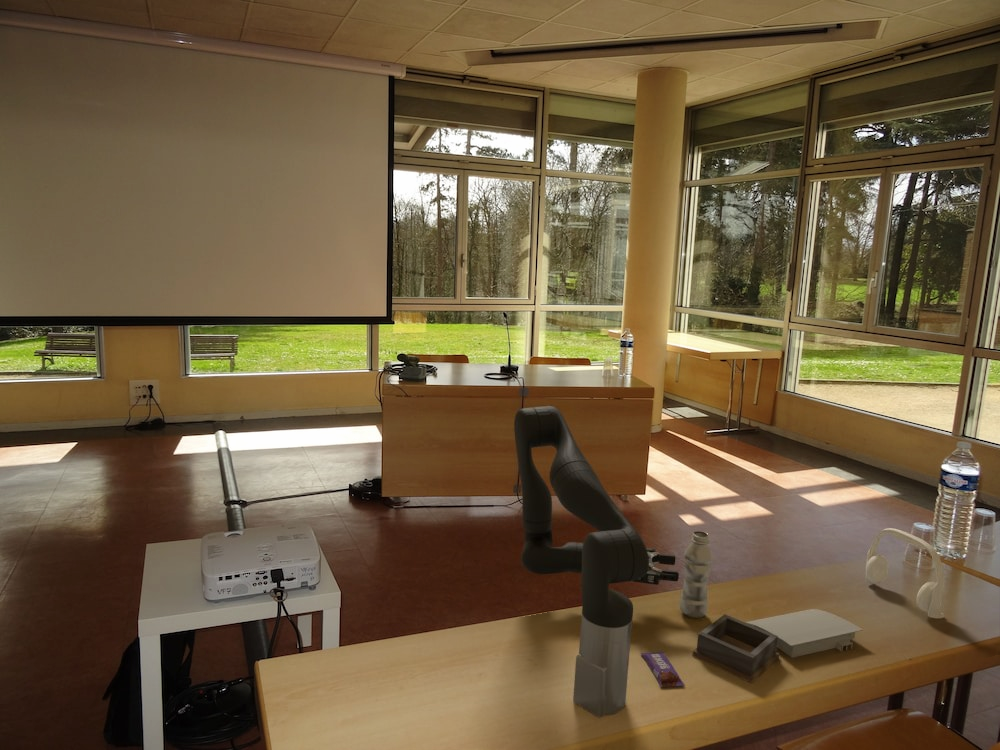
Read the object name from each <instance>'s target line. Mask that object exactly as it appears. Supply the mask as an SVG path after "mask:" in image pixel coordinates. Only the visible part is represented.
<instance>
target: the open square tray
mask: <svg viewBox="0 0 1000 750" xmlns="http://www.w3.org/2000/svg"><path fill="white" fill-rule="evenodd" d="M745 622H746V621H743V620H740V619H738V618H735V617H733V616H731V615H728V614H726V613H725V614H723V615H721V616H720V617H719V618H718V619H716V620H714V621H713V622H712V623H711V624H709V625H708V626H707V627H705V628H704V629H703V630H701V631H699V633H698V634H697V644H696V648H694V649H693V650H692V656H694V657H695V658H698V659H699V660H702V661H704V662H706V663H708V664H710V665H713V666H715V667H716V668H717V669H718V668H719V669H720V670H723V671H724V672H727V673H729V674H731V675H732V676H733V675H734V676H735V677H738V678H740V679H742V680H744V681H746V682H748V683H750V684H753V683H754V682H755V681H756V680H757V679H758V678H759V677H760V676H761V675H762V674H764V673H765V671H767V670H768V668H770V667H771V666H772V665H773V664H774V663H775V662H776V661H777V660H778V659H779V657H780V653H779V652H777V648H778V647H777V639H778V636H776V635H774V634H772V633H769V632H767V631H764V630H762V629H760V628H757V627H755V626H754V625H750V624H747V623H745Z"/></svg>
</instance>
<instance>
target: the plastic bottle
mask: <svg viewBox="0 0 1000 750" xmlns="http://www.w3.org/2000/svg"><path fill="white" fill-rule="evenodd" d="M709 537H710V536H709V534H708V532H706V531H702V530H694V531H693V532H692V536H691V542H692V543H690V545H689V546H687V547H686V549H685V552H684V581H683V588H682V591H681V594H680V598H679V609H680V611H681V613H682V614H684V615H685V616H687V617H689V618H693V619H700V618H703V617H705V615H706V614H707V612H708V609H709V600H708V584H709V577H710V572H711V568H712V564H713V560H714V558H713V557H714V556H713V553H712V550H711V549H710V547H709V543H710V541H709V539H710V538H709Z"/></svg>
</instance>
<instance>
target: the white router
mask: <svg viewBox="0 0 1000 750" xmlns="http://www.w3.org/2000/svg"><path fill="white" fill-rule="evenodd" d="M744 622H745V623H747V624H750V625H752V626H755V627H757V628H760V629H762V630H764V631H767V632H769V633H772V634H774V635H776V636H778V639H777V647H776V648H777V649H779V650H780V651H782V652H784V654H786V655H788V656H789V657H790V658H796V657H800V656H805V655H810V654H813V653H814V654H815V653H820V652H823V651H827V650H832V649H837V650H838V651H840V652H843V651H844V650H843V649H844V647H845V646H846V647H845V648H846V649H845V650H846V651H847V650H848V646H849V645H850V650H852V649H853V642H852V641H851V640H853V639H855V637H856V633H859V632H863V631H864V629H862V628H861V627H859V626H858V625H856V624H854V623H852V622H851V621H848V620H847V619H844V618H842V617H840V616H838V615H836V614H833V613H831V612H828V611H825V610H821V609H816V608H810V609H806V610H805V609H804V610H800V611H795V612H790V613H785V614H781V615H775V616H771V617H770V616H769V617H765V618H764V617H763V618H760V619H759V618H758V619H755V620H754V619H753V620H750V621H744Z"/></svg>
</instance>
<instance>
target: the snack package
mask: <svg viewBox="0 0 1000 750" xmlns="http://www.w3.org/2000/svg"><path fill="white" fill-rule="evenodd" d="M640 655H641V656H642V657H643V659H644V660H645V663H647V665H648V667H649V668H650V670H651V672H652V673H653V675H654V677H655V679H656V680H657V682H658V683H659V687H661V688H665V687H679V686H680V687H681V686H683V687H685V686H686V685H685V683H684V682H683V681H682V679H681V677H680V675H679V673H678V672H677V671H676V669H675V668H674V666H673V665H672V663H671V661H670V660H669V658H668V657H667V656H666V654H665V653H664V651H657V652H641V653H640Z"/></svg>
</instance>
